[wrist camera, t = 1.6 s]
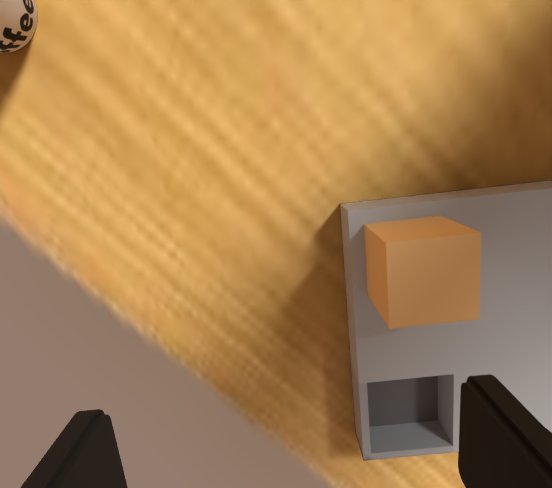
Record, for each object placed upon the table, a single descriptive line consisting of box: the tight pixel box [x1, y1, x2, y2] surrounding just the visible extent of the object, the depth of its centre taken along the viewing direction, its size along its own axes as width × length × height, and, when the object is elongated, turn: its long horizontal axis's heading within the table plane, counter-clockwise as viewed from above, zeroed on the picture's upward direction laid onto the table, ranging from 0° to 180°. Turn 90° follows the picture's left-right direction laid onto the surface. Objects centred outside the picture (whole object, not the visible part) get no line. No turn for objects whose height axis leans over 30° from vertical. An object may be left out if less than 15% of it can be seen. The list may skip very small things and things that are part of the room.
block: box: [364, 216, 481, 329], centre depth 23 cm, size 5×5×5 cm
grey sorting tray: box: [340, 180, 552, 461], centre depth 27 cm, size 24×20×4 cm
